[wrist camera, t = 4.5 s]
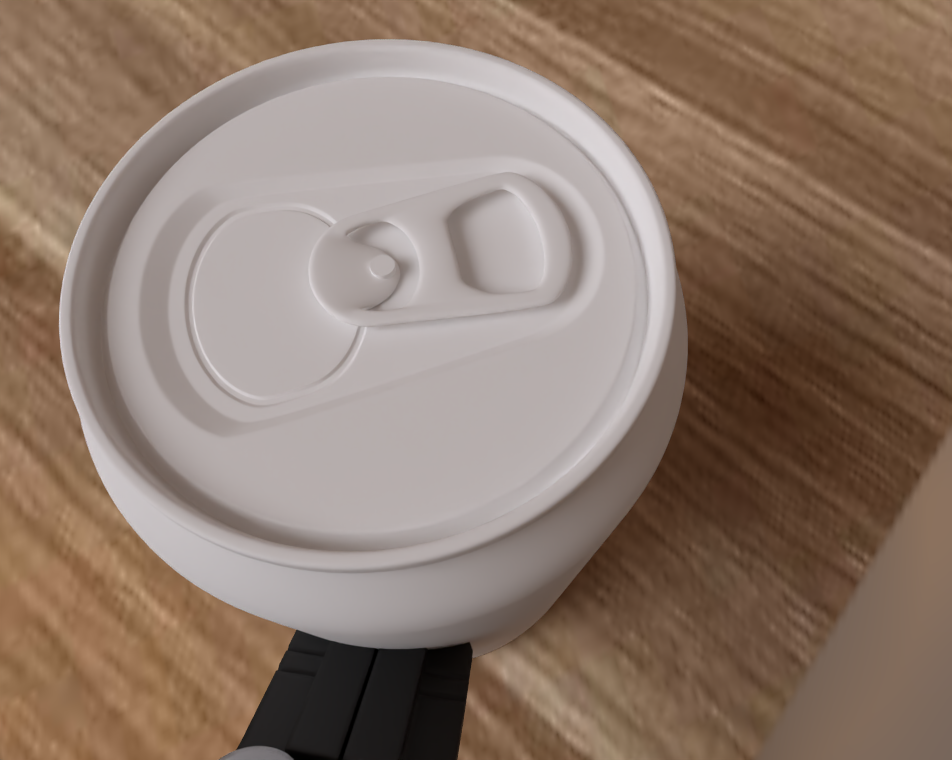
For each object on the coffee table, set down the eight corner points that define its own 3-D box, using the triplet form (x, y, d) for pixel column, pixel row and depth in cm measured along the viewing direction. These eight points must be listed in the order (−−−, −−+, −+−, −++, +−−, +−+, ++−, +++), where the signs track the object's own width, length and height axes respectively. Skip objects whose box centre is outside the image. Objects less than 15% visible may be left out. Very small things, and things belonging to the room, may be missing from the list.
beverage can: (268, 403, 20) (19, 69, 9) (537, 344, 21) (598, -30, 10) (306, 702, 17) (-1, 722, 6) (622, 621, 18) (845, 510, 7)
